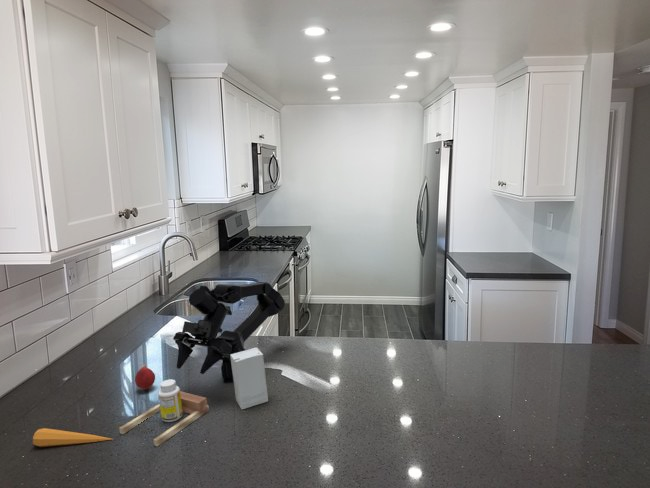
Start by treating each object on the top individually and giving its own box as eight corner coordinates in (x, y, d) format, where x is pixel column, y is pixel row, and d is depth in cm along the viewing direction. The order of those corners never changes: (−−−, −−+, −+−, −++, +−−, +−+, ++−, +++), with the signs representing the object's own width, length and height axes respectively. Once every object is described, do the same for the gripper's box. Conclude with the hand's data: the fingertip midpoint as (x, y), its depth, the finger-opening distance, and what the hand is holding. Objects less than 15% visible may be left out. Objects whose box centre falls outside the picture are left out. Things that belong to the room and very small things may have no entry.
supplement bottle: (175, 409, 129) (171, 376, 127) (187, 415, 125) (182, 381, 123) (157, 418, 125) (153, 384, 123) (168, 425, 121) (164, 389, 119)
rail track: (173, 400, 134) (171, 387, 134) (209, 410, 127) (207, 397, 127) (119, 433, 119) (117, 418, 118) (157, 446, 112) (155, 431, 111)
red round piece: (149, 394, 139) (146, 370, 138) (132, 394, 140) (129, 369, 139) (160, 385, 144) (156, 361, 143) (143, 385, 146) (140, 361, 144)
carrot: (32, 451, 115) (27, 439, 113) (42, 435, 119) (36, 424, 116) (112, 452, 115) (108, 441, 113) (119, 436, 119) (116, 425, 117)
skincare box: (262, 393, 135) (257, 346, 132) (269, 402, 129) (264, 353, 127) (234, 401, 131) (229, 352, 129) (240, 411, 126) (234, 360, 123)
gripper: (174, 305, 136) (148, 354, 129) (221, 312, 127) (196, 365, 120) (196, 322, 144) (173, 369, 137) (242, 329, 135) (220, 380, 128)
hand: (189, 370), depth 130 cm, fingers open, 9 cm apart
